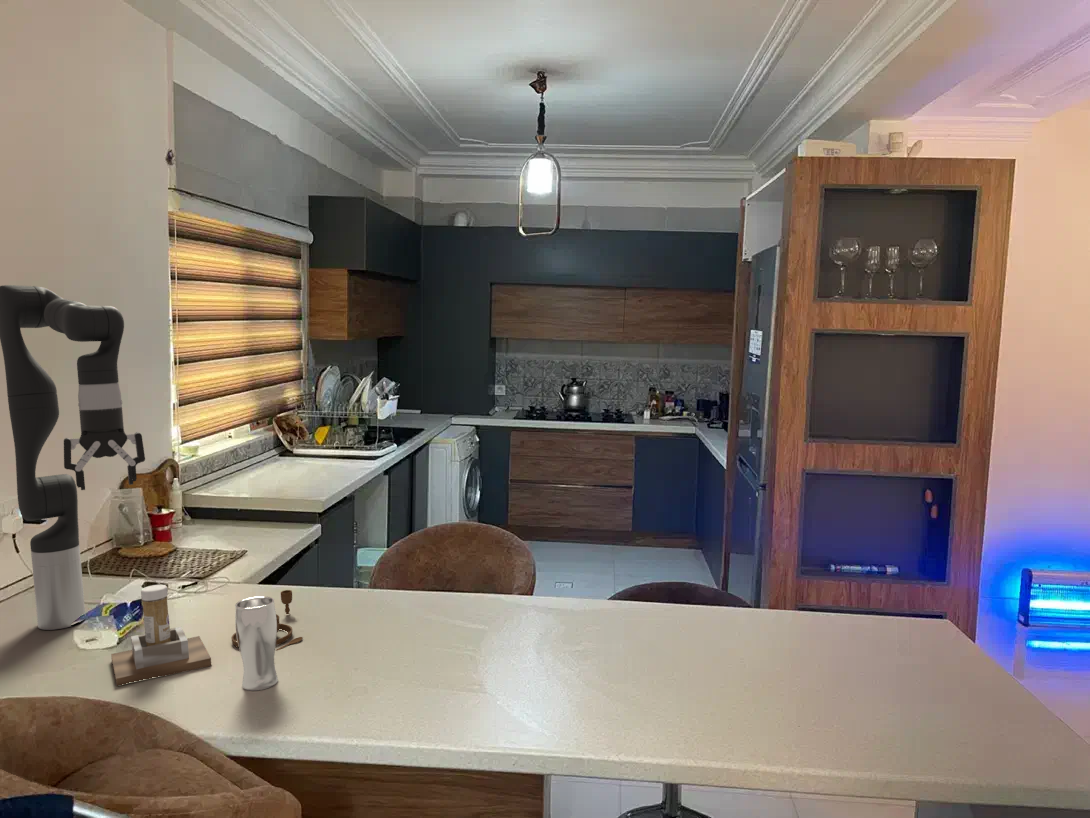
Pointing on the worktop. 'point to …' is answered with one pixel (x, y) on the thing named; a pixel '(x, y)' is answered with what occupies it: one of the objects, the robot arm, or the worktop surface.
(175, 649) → the socket
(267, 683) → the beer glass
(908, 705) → the worktop surface
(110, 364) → the robot arm
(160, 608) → the sprinkles bottle
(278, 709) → the worktop surface
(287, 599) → the place setting
